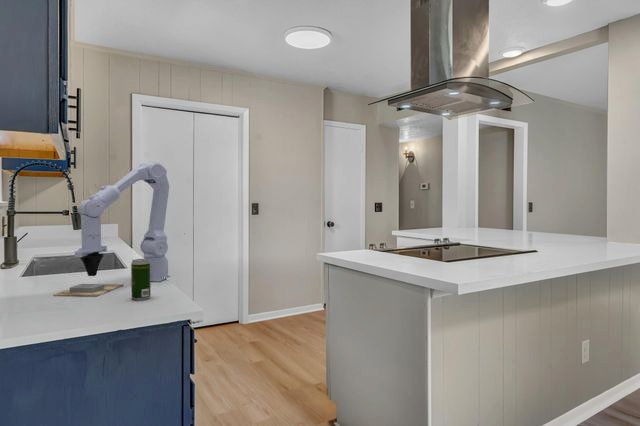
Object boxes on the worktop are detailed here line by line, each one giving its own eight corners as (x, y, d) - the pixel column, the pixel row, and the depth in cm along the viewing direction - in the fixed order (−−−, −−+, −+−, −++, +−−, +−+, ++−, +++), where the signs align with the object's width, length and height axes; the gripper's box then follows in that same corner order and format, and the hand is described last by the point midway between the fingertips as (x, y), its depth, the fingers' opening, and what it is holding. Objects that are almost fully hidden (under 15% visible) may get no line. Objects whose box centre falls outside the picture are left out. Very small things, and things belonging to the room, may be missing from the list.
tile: (81, 283, 136) (69, 287, 130) (104, 284, 136) (93, 288, 130) (81, 288, 136) (69, 292, 131) (104, 288, 136) (93, 292, 130)
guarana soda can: (154, 297, 126) (154, 259, 126) (139, 301, 121) (139, 261, 121) (142, 295, 129) (142, 258, 128) (127, 299, 124) (127, 260, 123)
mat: (85, 284, 143) (85, 283, 143) (123, 285, 143) (123, 284, 143) (53, 295, 128) (53, 294, 127) (96, 296, 127) (96, 295, 127)
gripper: (92, 233, 143) (93, 271, 143) (65, 237, 128) (66, 279, 129) (112, 233, 142) (113, 271, 143) (86, 237, 128) (87, 280, 128)
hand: (92, 275), depth 136 cm, fingers closed
